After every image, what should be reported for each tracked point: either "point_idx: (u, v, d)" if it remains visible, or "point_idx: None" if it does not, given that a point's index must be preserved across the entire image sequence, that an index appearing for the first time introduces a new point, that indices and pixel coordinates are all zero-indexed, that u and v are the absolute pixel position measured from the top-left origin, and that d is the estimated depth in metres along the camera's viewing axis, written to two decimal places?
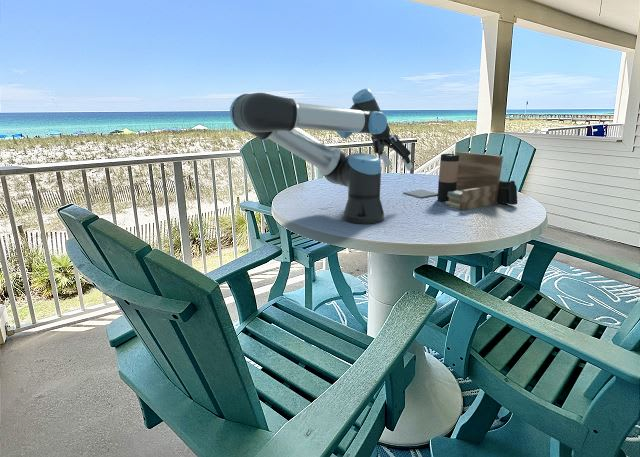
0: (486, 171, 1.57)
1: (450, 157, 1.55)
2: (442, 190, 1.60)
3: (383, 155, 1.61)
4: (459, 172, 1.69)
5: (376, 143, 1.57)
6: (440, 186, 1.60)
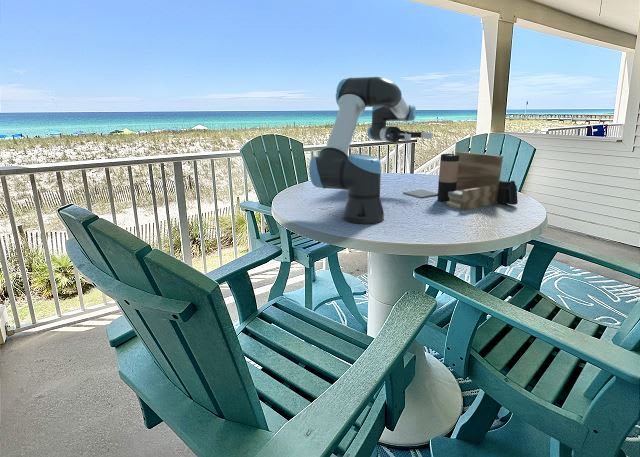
0: (486, 171, 1.57)
1: (450, 157, 1.55)
2: (442, 190, 1.60)
3: None
4: (459, 172, 1.69)
5: None
6: (440, 186, 1.60)
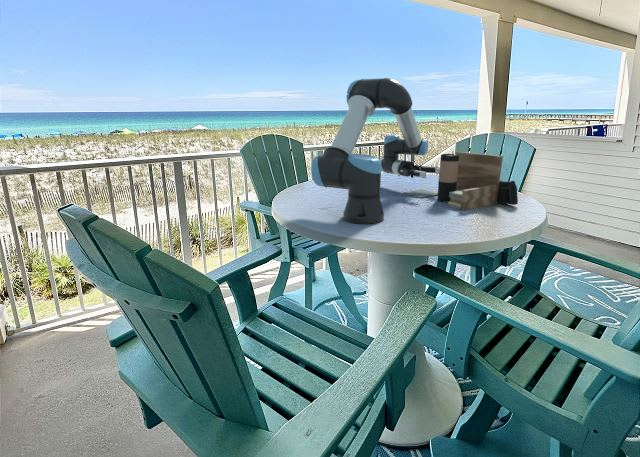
0: (486, 171, 1.57)
1: (450, 157, 1.55)
2: (442, 190, 1.60)
3: None
4: (459, 172, 1.69)
5: None
6: (440, 186, 1.60)
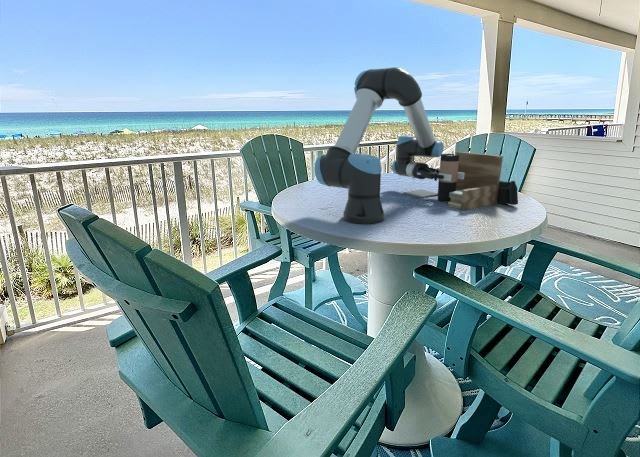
0: (486, 171, 1.57)
1: (450, 157, 1.55)
2: (442, 190, 1.60)
3: None
4: None
5: None
6: (440, 186, 1.60)
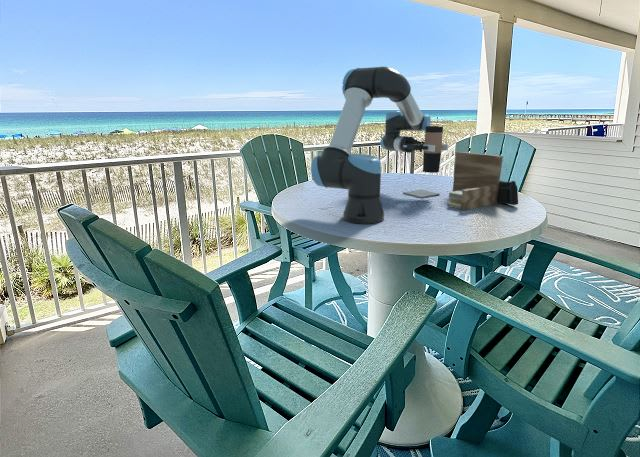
0: (486, 171, 1.57)
1: (434, 128, 1.60)
2: (427, 160, 1.65)
3: None
4: (459, 172, 1.69)
5: None
6: (425, 157, 1.66)
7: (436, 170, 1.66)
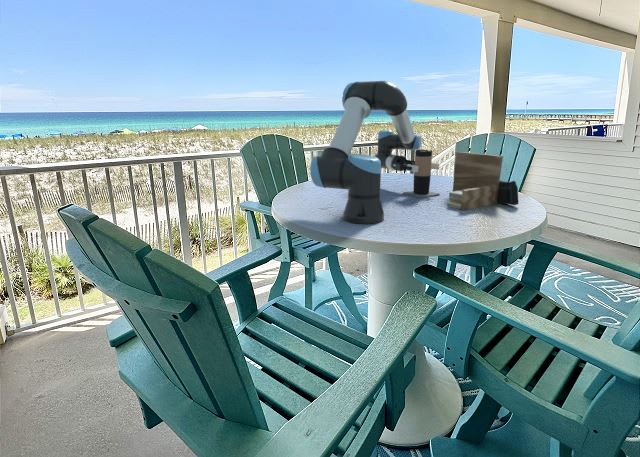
0: (486, 171, 1.57)
1: (423, 152, 1.67)
2: (417, 183, 1.72)
3: None
4: (459, 172, 1.69)
5: None
6: (415, 180, 1.73)
7: (426, 192, 1.73)
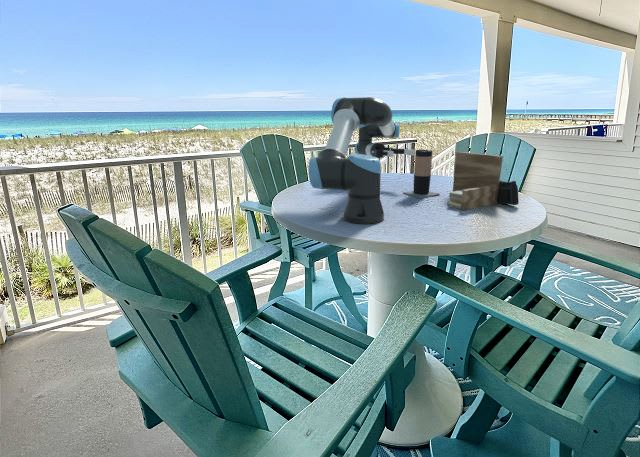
0: (486, 171, 1.57)
1: (423, 152, 1.67)
2: (417, 183, 1.72)
3: None
4: (459, 172, 1.69)
5: None
6: (415, 180, 1.73)
7: (426, 192, 1.73)
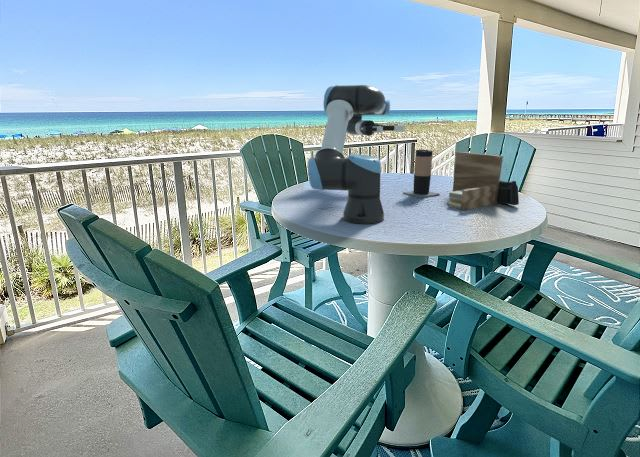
0: (486, 171, 1.57)
1: (424, 152, 1.67)
2: (417, 183, 1.72)
3: None
4: (459, 172, 1.69)
5: None
6: (415, 179, 1.73)
7: (426, 192, 1.73)
